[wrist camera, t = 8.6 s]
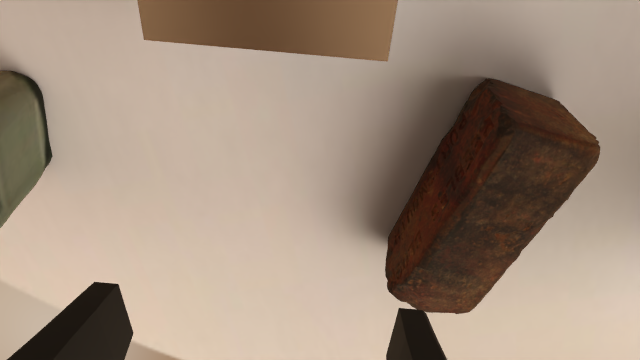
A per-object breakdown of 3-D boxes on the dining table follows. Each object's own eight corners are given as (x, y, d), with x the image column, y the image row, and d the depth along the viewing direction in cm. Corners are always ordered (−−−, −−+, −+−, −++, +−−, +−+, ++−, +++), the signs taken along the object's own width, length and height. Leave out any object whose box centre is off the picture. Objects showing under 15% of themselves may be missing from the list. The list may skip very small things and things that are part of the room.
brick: (474, 69, 18) (509, 119, 14) (557, 96, 18) (614, 153, 14) (380, 243, 24) (386, 312, 20) (445, 260, 24) (463, 331, 20)
